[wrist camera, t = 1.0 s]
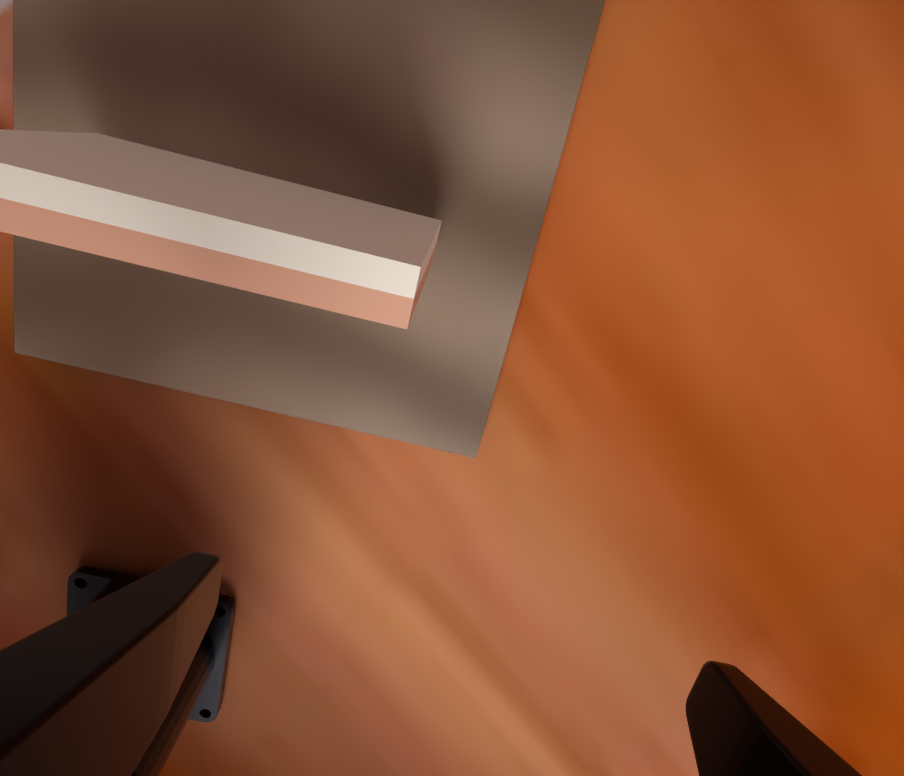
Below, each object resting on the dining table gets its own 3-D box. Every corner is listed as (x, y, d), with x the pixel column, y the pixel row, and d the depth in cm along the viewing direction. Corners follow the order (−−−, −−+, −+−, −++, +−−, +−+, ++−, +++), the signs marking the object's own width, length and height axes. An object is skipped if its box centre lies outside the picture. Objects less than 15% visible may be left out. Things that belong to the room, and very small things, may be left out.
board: (475, 446, 21) (475, 458, 20) (35, 345, 20) (14, 352, 19) (639, -144, 15) (651, -167, 14) (41, -323, 14) (11, -361, 13)
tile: (407, 329, 11) (421, 266, 10) (-146, 196, 10) (-159, 123, 9) (432, 260, 17) (441, 220, 16) (97, 176, 16) (97, 132, 16)
